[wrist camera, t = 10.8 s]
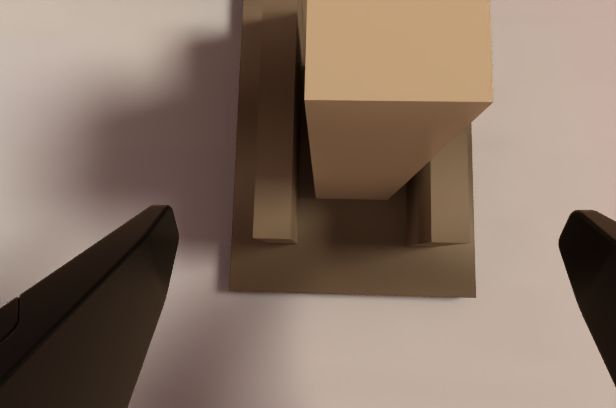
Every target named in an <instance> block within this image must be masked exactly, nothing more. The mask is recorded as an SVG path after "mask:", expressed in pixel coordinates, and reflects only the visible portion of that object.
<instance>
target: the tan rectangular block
mask: <svg viewBox="0 0 616 408" xmlns="http://www.w3.org/2000/svg"><path fill="white" fill-rule="evenodd" d="M304 101H305V109H306V118H307V126H308V135H309V144H310V152H311V161H312V169H313V178H314V187H315V195H316V199H365V200H388V199H389V198H390V197H391V196H393V195H394V194H395V193H396V192H397V191H398V190H399V189H400V188H401V187H402V186H403V185H404V184H405V183H407V182H408V181H409V180H410V179H411V178H412V177H413V176H414V175H415V174H416V173H417V172H418V171H419V170H421V169H422V168H423V167H424V166H425V165H426V164H427V163H428V162H429V161H430V160H431V159H432V158H433V157H435V156H436V155H437V154H438V153H439V152H440V151H441V150H442V149H443V148H444V147H445V146H446V145H447V144H449V143H450V142H451V141H452V140H453V139H454V138H455V137H456V136H457V135H458V134H459V133H460V132H461V131H463V130H464V129H465V128H466V127H467V126H468V125H469V124H470V123H471V122H472V121H473V120H474V119H475V118H477V117H478V116H479V115H480V114H481V113H482V112H483V111H484V110H485V109H486V108H487V107H488V106H489V105H491V104H492V103H493V80H492V51H491V21H490V0H307V24H306V60H305V96H304Z"/></svg>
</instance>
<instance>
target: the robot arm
mask: <svg viewBox="0 0 616 408" xmlns="http://www.w3.org/2000/svg"><path fill="white" fill-rule="evenodd" d="M178 242H179V233H178V229H177V225H176V221H175V217H174V213H173V210H172V208H171V207H170V206H169V205H151V206H150V207H148V208H147V209H145V210H144V211H142V212H141V213H139V214H138V215H136V216H135V217H133V218H132V219H131V220H129V221H128V222H126V223H125V224H123V225H122V226H120V227H119V228H117V229H116V230H114V231H113V232H111V233H110V234H109V235H107V236H106V237H104V238H103V239H101V240H100V241H98V242H97V243H95V244H94V245H92V246H91V247H89V248H88V249H87V250H85V251H84V252H82V253H81V254H79V255H78V256H76V257H75V258H73V259H72V260H70V261H69V262H67V263H66V264H65V265H63V266H62V267H60V268H59V269H57V270H56V271H54V272H53V273H51V274H50V275H48V276H47V277H45V278H44V279H42V280H41V281H40V282H38V283H37V284H35V285H34V286H32V287H31V288H29V289H28V290H26V291H25V292H23V293H22V294H21V295H20V296H19V298H18V297H16V298H14V299H13V300H12V301H10V302H9V303H7V304H6V305H4V306H3V307H1V308H0V408H128V405H129V402H130V399H131V396H132V393H133V391H134V388H135V385H136V382H137V379H138V376H139V374H140V371H141V368H142V365H143V362H144V359H145V357H146V354H147V351H148V348H149V345H150V343H151V340H152V337H153V334H154V331H155V328H156V326H157V323H158V320H159V317H160V314H161V311H162V309H163V305H164V302H165V299H166V295H167V291H168V287H169V283H170V278H171V274H172V269H173V264H174V260H175V255H176V251H177V246H178ZM559 250H560V253H561V256H562V259H563V262H564V265H565V268H566V271H567V274H568V277H569V280H570V283H571V286H572V289H573V292H574V295H575V298H576V301H577V303H578V306H579V308H580V311H581V313H582V315H583V318H584V320H585V322H586V324H587V326H588V328H589V331H590V333H591V335H592V337H593V339H594V341H595V343H596V346H597V348H598V350H599V352H600V354H601V356H602V359H603V361H604V363H605V365H606V367H607V369H608V371H609V374H610V376H611V378H612V380H613V382H614V384H615V387H616V221H614V220H612V219H610V218H608V217H606V216H604V215H602V214H601V213H599V212H597V211H594V210H575V211H573V212H572V213H571V214H570V216H569V218H568V220H567V222H566V224H565V227H564V229H563V231H562V233H561V235H560V238H559Z"/></svg>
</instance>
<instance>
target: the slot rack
mask: <svg viewBox="0 0 616 408" xmlns="http://www.w3.org/2000/svg"><path fill="white" fill-rule="evenodd" d="M306 24H307V0H243V18H242V38H241V59H240V80H239V101H238V121H237V142H236V163H235V184H234V205H233V225H232V246H231V267H230V288H229V291H251V292H287V293H323V294H359V295H395V296H431V297H467V298H476V281H475V244H474V207H473V170H472V134H471V123H470V124H469V125H468V126H467V127H466V128H465V129H464V130H463V131H461V132H460V133H459V134H458V135H457V136H456V137H455V138H454V139H453V140H452V141H451V142H450V143H449V144H447V145H446V146H445V147H444V148H443V149H442V150H441V151H440V152H439V153H438V154H437V155H436V156H435V157H433V158H432V159H431V160H430V161H429V162H428V163H427V164H426V165H425V166H424V167H423V168H422V169H421V170H419V171H418V172H417V173H416V174H415V175H414V176H413V177H412V178H411V179H410V180H409V181H408V182H407V183H405V184H404V185H403V186H402V187H401V188H400V189H399V190H398V191H397V192H396V193H395V194H394V195H393V196H391V197H390V198H389V199H388V200H365V199H316V195H315V187H314V178H313V169H312V161H311V152H310V144H309V135H308V126H307V118H306V109H305V101H304V96H305V60H306Z"/></svg>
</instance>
